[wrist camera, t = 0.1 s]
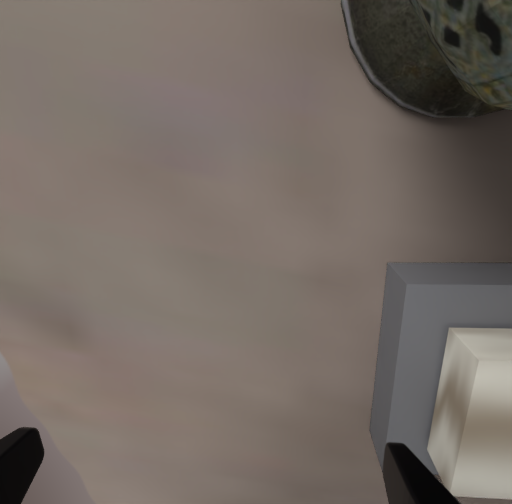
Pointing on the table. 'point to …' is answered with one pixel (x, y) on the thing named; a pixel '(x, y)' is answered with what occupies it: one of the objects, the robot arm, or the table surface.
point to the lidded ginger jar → (435, 53)
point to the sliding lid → (474, 414)
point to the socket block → (428, 341)
